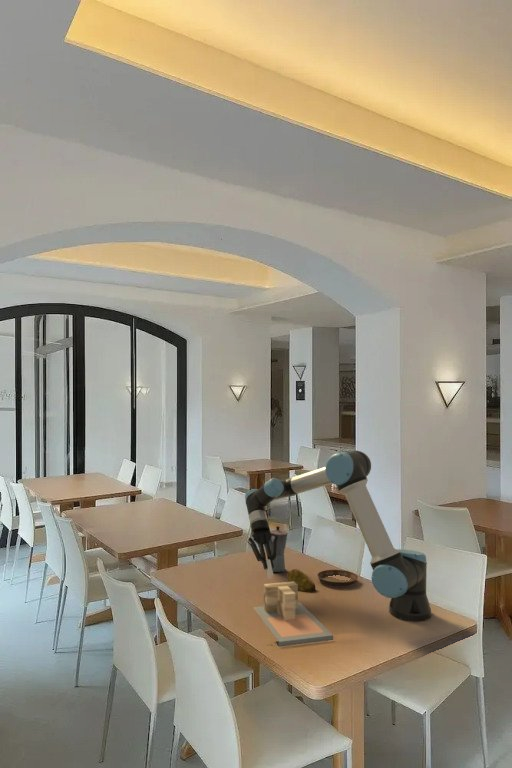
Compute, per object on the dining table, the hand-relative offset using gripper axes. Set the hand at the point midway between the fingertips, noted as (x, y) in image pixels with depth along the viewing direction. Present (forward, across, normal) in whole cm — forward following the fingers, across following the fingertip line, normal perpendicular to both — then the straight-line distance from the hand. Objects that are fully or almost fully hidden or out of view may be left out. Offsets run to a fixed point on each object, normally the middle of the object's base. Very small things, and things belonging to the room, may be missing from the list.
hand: (270, 576), depth 209 cm
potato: (+1, -16, -14) cm, 22 cm away
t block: (+16, 0, +4) cm, 17 cm away
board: (+22, 0, +8) cm, 24 cm away
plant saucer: (-4, -36, -19) cm, 41 cm away
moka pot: (-19, -15, -34) cm, 42 cm away
